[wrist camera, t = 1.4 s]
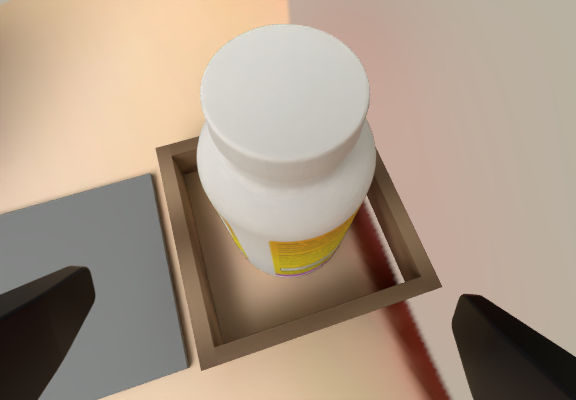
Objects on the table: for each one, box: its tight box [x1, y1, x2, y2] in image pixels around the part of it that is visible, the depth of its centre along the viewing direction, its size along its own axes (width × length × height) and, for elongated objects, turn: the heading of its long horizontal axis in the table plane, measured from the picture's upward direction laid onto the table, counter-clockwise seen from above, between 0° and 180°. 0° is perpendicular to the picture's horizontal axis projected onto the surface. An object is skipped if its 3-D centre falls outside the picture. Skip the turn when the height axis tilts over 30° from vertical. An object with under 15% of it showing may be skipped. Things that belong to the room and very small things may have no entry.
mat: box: [0, 173, 189, 400], centre depth 19 cm, size 12×12×1 cm
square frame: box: [156, 137, 442, 371], centre depth 20 cm, size 13×13×2 cm
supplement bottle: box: [197, 24, 376, 277], centre depth 15 cm, size 7×7×13 cm
